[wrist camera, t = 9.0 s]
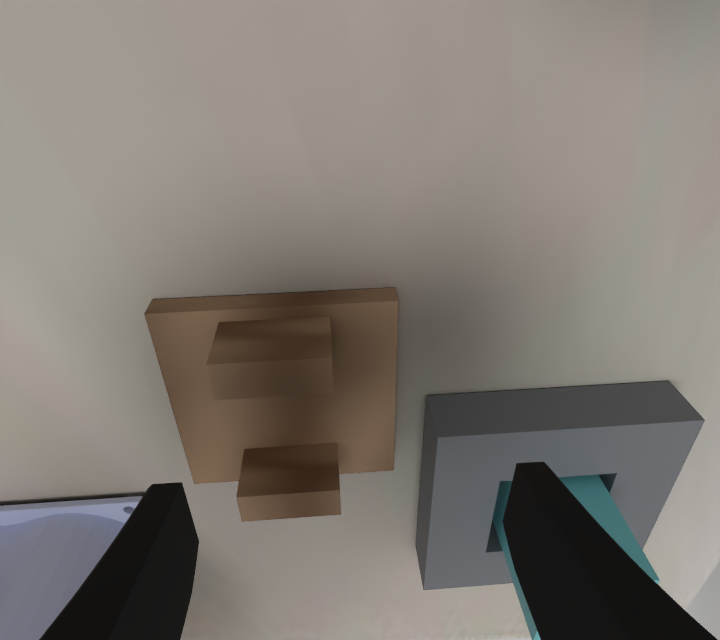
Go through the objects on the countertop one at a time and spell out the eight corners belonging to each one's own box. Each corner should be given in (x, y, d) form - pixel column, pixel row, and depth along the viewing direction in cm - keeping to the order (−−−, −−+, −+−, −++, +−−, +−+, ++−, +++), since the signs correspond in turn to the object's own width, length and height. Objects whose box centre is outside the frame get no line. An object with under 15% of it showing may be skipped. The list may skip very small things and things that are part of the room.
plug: (485, 497, 26) (532, 641, 21) (496, 443, 24) (553, 587, 18) (559, 493, 27) (628, 634, 21) (577, 439, 24) (659, 579, 19)
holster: (198, 466, 24) (181, 533, 21) (152, 299, 19) (121, 356, 16) (391, 453, 24) (401, 517, 21) (394, 287, 19) (409, 340, 16)
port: (415, 545, 28) (424, 595, 26) (426, 395, 22) (439, 443, 20) (608, 531, 29) (634, 579, 26) (669, 380, 23) (709, 425, 20)
